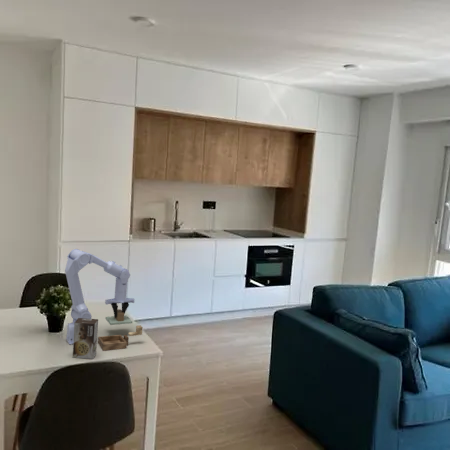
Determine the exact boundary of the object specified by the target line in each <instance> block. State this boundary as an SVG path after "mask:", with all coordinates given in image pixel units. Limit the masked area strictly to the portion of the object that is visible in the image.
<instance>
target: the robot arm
mask: <svg viewBox="0 0 450 450" xmlns="http://www.w3.org/2000/svg"><path fill="white" fill-rule="evenodd" d="M66 257H67V261H66V265H65V269H64V273H65V276H66V281H67V285H68V289H69V294H70V298H71V303H72V305H71V307H70V308H71V311H70V316H71V318H72V322H70V323H67V325H66V337H65V338H66V341H67V343H68V345H73V343H74V323H75V322H76V320H77V319H78V318H87V319H92V314H91V312H90V311H89V308H88V306H87V305H86V303H85V299H84V296H83V291H82V285H81V281H80V276H79V273H80V271H81V270H83V268H85V267H86V266H87V265H91V264H95V265H97V266H99V267H100V268H101V267H102V268H103V271H104V272H105V273H107V274H109V275H112V276H114V277H115V288H114V298H110V299H108V298H107V299H105V301H104V303H105V305H111V307H112V311H113V316H114V317H115V318H117V309H118V307H119V305H118V304H121V311H122V312H123V313H124V315H125V314H126V311H127V309H128V308H129V306H130V304H131V303H133V304H134V303H135V301H136V300H135V298H133V297H127V289H128V282H129V279H130V276H131V274H130V271H129V269H128V268H125V267H123V265H121V264H117V263H116V261H113V260H108V261H106V260H104V259H103V258H100V257H99V256H97V255H94V254H92V253H90V252H87V251H83V250H80V249H78V248H73V249H72V250H71V251H70V252H69V253H68V255H67V256H66ZM129 303H130V304H129Z"/></svg>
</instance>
